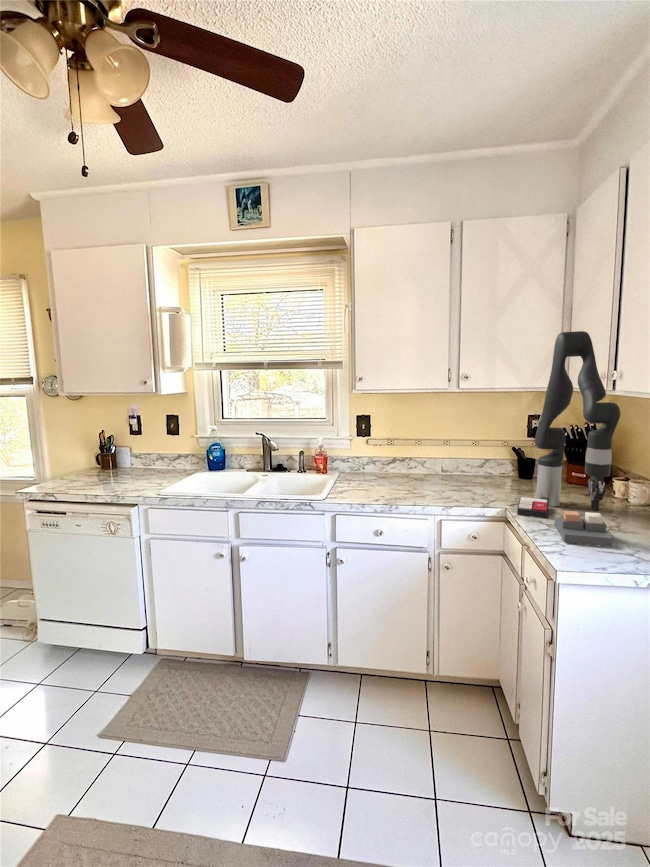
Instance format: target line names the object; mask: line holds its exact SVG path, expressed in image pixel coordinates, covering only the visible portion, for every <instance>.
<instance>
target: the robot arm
mask: <svg viewBox="0 0 650 867" xmlns="http://www.w3.org/2000/svg"><path fill="white" fill-rule="evenodd" d="M552 357H553V358H552V363H551V371H550V376H549V380H548V383H547V387H546V388H547V389H546V392H545V397H544V401H543V407H542V413H541V416H540V420H539V422H538V426H537V429H536V432H535V436H534V437H535V438H534V443H535V447H536V448H537V449H540V450H551V451H550V452H549V453H547V454H545V455H542V456H539V457H538V460H537V476H536V477H537V478H536V494H535V499H544V500H548V508H550V507H553V508H554V507H559V506H560V504H561V503H560V501H561V489H562V487H561V486H562V475H563V474H562V473H563V472H562V471H563V461H564V454H565V446H566V432H565V430H564V428H562V427H551V425H552V424H553V422H554V421H555V419H557V418H558V417H559V416H560V415H561V414H562V413H563V412H564V411H565V410H566V409H567V408H568V407H569V406H570V404H571V400H572V397H573V393H574V385H573V382H572V380H571V378H570V376H569V374H568V373H567V370H566V359H567V358H568V357H569V358H572V357H573V358H574V357H580V358H581V360H582V366H581V367H580V368H581V369H580V370H579V373H578V376H577V385H578V388H579V392H580V395H581V397H582V405H583V406H582V414H583V415H582V416H583V418H584V420H585V421H586V422H587V423H590V424H592V425H593V424H595V425H597V424H601V425H600V426H599V428H597V429H593V430H590V431H589V432H588V434H587V444H586V452H585V460H584V474H585V475H586V476H590V478H589V479H588V480H587V487H588V495H589V499H590V510H591V511H592V512H599V510H600V502H601V501H603V499H604V497H605V493H606V491H607V490H606V488H605V484H606V483H605V481H604V478H607V477H610V476H611V471H612V470H611V468H612V458H613V457H612V456H613V454H612V446H613V445H612V444H613V443H612V442H613V436H614V434H615V431H616V428H617V426H618V423H619V421H620V418H621V409H620V407H619V405H618V404H617V403H616V402H611V401H610V402H601V401H602V400H603V399H605V398H606V396H607V392H606V389H605V387H604V384H603V381H602V379H601V376H600V374H599V371H598V366H597V361H596V360H597V359H596V356H595V349H594V345H593V340H592V339H591V335H590V334H589V333H588V332H587V331H582V330H576V331H563V332H562V331H561V332H560V333H558V334H557V336H556V338H555V342H554V346H553V355H552Z"/></svg>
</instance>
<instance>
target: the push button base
mask: <svg viewBox="0 0 650 867" xmlns="http://www.w3.org/2000/svg"><path fill="white" fill-rule="evenodd" d="M553 525H554V527H555V529H556V530H558V531H557V532H558V534H559V535H560V538H561V537H562V538H561V540H562V541H563V543H564V542H568V543H567V544H573V543H579V544H578V545H584V544H590V545H589V546H594V545H600V546H599V547H605V546H609V547H608V548H613V542H614V540H613V537H612V536H611V534H610V533H609V532H608V531H607V525H608V524H606V523H605V521H604V520H603V524H596V523H588V522H587V521H586V520H585V517H582V516H580V522H571V521H565V520H564V518H563V515H559V517H556V516H555V517H554V523H553Z"/></svg>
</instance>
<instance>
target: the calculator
mask: <svg viewBox="0 0 650 867" xmlns="http://www.w3.org/2000/svg"><path fill="white" fill-rule="evenodd" d="M516 510H517V511H516V515H517V516H522V515H523V517H525V516H526V517H530V516H533V518H538V517H541V518H540V519H548V517H549V506H548V500H544V499H536V498H534V497H523V496H522V497H519V500H518V504H517V509H516Z"/></svg>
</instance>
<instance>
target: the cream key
mask: <svg viewBox="0 0 650 867" xmlns="http://www.w3.org/2000/svg"><path fill="white" fill-rule="evenodd" d="M584 514H585V515H584V518H585V520H586V521H587V522H588V523H596V524H603V521H604V516H603V515H602V513H600V512H587V511H585V513H584Z"/></svg>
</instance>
